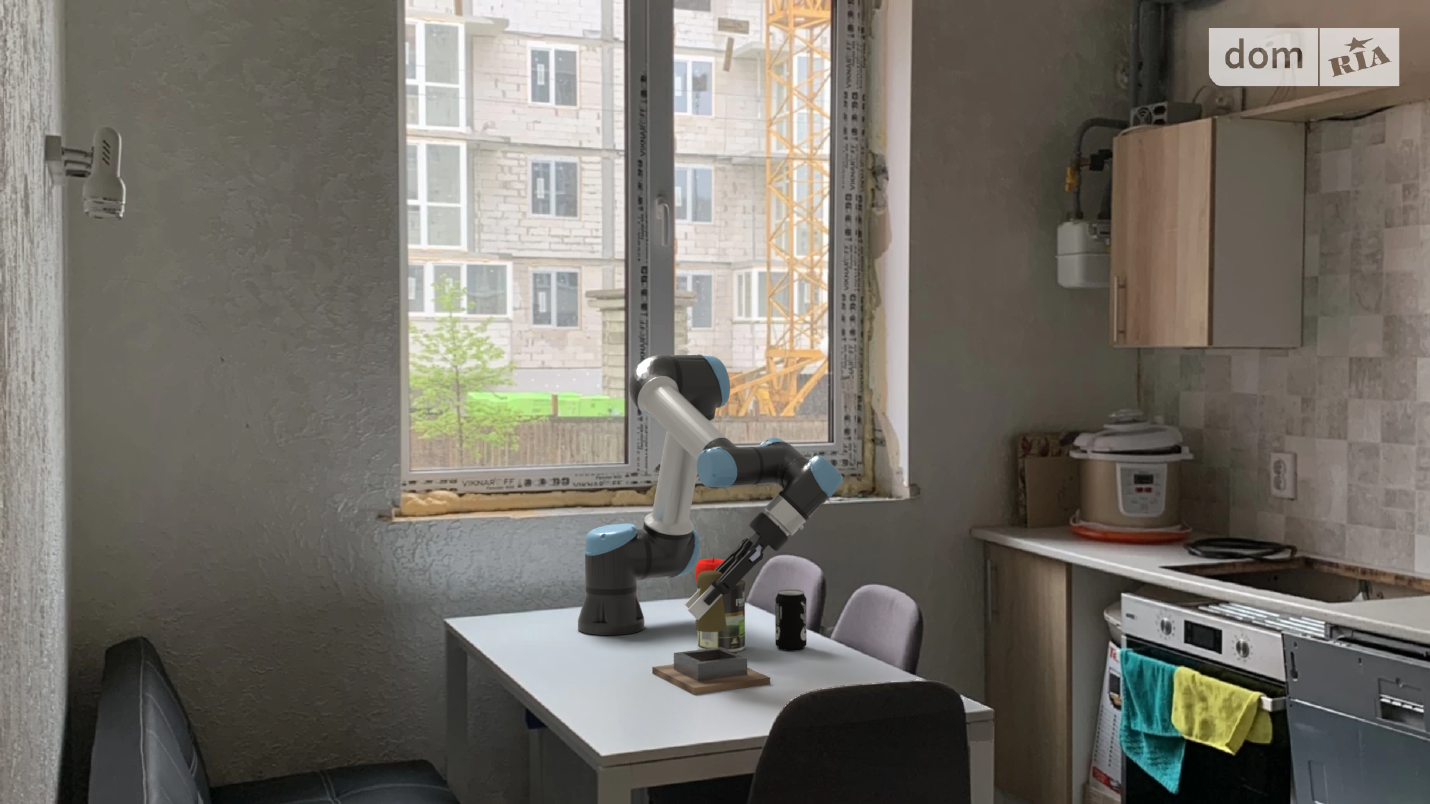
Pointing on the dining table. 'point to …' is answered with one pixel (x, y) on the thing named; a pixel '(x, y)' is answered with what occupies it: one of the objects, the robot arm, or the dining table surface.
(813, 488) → the robot arm
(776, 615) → the beverage can
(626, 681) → the dining table surface
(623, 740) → the dining table surface
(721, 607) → the cork
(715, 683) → the socket plate
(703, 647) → the coffee can
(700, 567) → the apple
